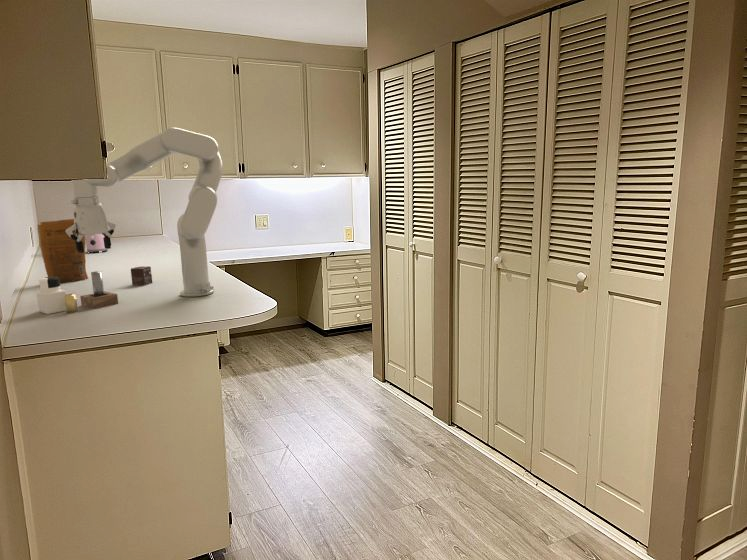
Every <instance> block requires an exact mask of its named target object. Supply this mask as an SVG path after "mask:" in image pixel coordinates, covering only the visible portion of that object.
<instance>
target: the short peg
mask: <svg viewBox="0 0 747 560" xmlns="http://www.w3.org/2000/svg"><path fill="white" fill-rule="evenodd" d="M64 296H65V304H66V311H65V312H66V313H67V314H72V313H73V314H74V313H77V312H78V311H79V310H78V309H79V308H78V303H77V295H76V294H75V293H70V294H69V293H68V294H67V293H66V295H64Z"/></svg>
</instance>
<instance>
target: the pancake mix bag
mask: <svg viewBox="0 0 747 560" xmlns="http://www.w3.org/2000/svg"><path fill="white" fill-rule="evenodd" d="M39 223H40V224H37V226H36V227H37V230H36V231H37V235H38V241H39V242H38V243H39V249H40V252H41V256H42V260H43V264H44V269H45V272H46V275H47V276H46V277H58V278H59V280H60V284H63V283H64V284H65V283H71V282H79V281H80V280H81V281H86V280H87V279H89V277H88V272H87V269H86V252H85V251H86V235H84V236H83V237H82V239H81V241H82V242H83V248H84V253H79V252H78V251H77V249H76V243H75V241H74V240H73V239H71V238H70V237H69V235H68V234H67V233H66V231H65V230H66V229H68V228H69V227H71V226H72V225H74V218H71V219H60V220H50V221H41V222H39ZM72 233H73V235H75V236H76V232H75V230H73V231H72ZM85 279H86V280H85Z"/></svg>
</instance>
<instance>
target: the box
mask: <svg viewBox="0 0 747 560" xmlns="http://www.w3.org/2000/svg"><path fill="white" fill-rule="evenodd" d="M130 275H131V276H130V277H131V284H132V286H147V285H149V283H150V284H152V283H153V277H152V276H153V274H152V267H151V266H144V265H143V266H136V267H132V268H130ZM146 284H147V285H146Z"/></svg>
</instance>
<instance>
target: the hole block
mask: <svg viewBox="0 0 747 560" xmlns="http://www.w3.org/2000/svg"><path fill="white" fill-rule="evenodd" d="M118 298H119V297H118V293H115V292H114V293H113V292H110V291H105V290H104V296H98V297H94V293H89V294H84V295H80V303H81V306H83V307H87V308H90V309H97V308H101V307H108V306H112V305H111V304H113V305H116V303H117V304H119V299H118ZM107 305H108V306H107Z"/></svg>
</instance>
